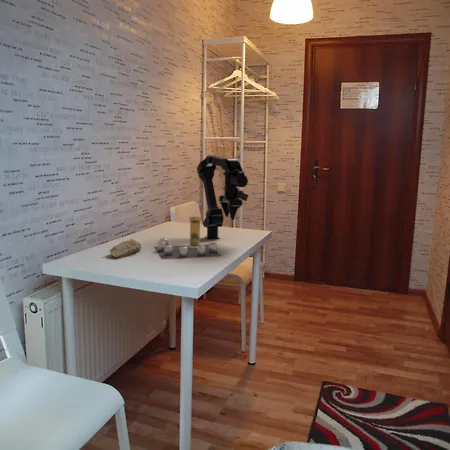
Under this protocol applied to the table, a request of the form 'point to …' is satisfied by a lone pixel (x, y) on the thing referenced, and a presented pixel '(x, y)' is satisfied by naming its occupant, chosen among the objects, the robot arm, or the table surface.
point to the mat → (191, 253)
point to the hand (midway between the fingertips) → (229, 218)
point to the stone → (125, 248)
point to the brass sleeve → (194, 231)
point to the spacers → (184, 249)
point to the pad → (192, 246)
